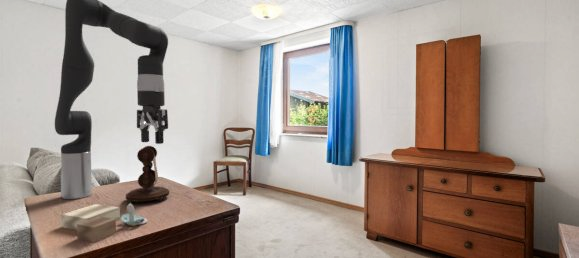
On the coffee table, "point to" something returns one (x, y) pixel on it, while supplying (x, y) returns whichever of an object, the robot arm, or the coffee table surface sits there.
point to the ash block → (89, 215)
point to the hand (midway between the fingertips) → (152, 142)
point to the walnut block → (96, 229)
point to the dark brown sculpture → (147, 178)
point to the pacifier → (132, 217)
